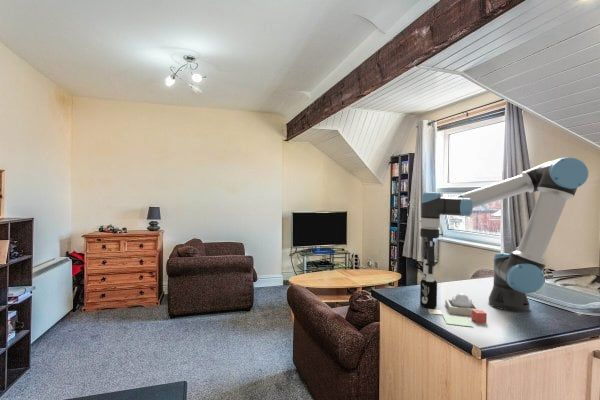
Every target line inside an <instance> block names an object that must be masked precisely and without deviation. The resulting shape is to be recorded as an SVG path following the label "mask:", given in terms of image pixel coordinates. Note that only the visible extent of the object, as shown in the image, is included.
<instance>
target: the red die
mask: <svg viewBox="0 0 600 400" xmlns="http://www.w3.org/2000/svg"><path fill="white" fill-rule="evenodd" d="M487 316H488V314H487V312H486V311H484V310H482V309H479V310H472V316H471V320H473V321H474V322H475V323H476V324H487V318H488V317H487Z"/></svg>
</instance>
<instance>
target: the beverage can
mask: <svg viewBox="0 0 600 400" xmlns="http://www.w3.org/2000/svg"><path fill="white" fill-rule="evenodd" d="M419 289H420V293H419V294H420V295H419V298H420V299H419V305H420V307H422V308H424V309H427V310H428V309H434V310H435V309H436V307H437V305H438V304H437V301H438V300H437V299H438V297H437V296H438V282H437V279H436V278H435V277H433V282H427V281H426V276H423V277H421V280H420V288H419Z"/></svg>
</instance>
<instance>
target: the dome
mask: <svg viewBox="0 0 600 400" xmlns="http://www.w3.org/2000/svg"><path fill="white" fill-rule="evenodd" d="M451 300H452V305H454V306H457V307H462V308H471V307H472V302H473V299H471V298H469V297H468V295H467V294H466V293H463V292H459V293H457V294H456V295H455V296H451Z"/></svg>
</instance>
